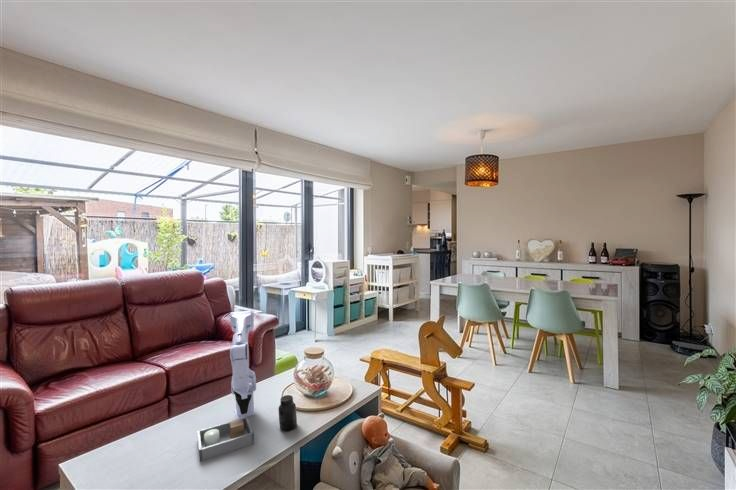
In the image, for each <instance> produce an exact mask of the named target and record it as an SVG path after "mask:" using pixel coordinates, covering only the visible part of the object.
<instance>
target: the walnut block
mask: <svg viewBox="0 0 736 490" xmlns="http://www.w3.org/2000/svg"><path fill="white" fill-rule="evenodd" d="M234 420H235V421H233V420H231V422H230V421H228V422H229V423H230V438H231V439H233V438H236V437H239V436H243V435H244V423H243V420H242V419H238V420H237V419H234Z"/></svg>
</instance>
